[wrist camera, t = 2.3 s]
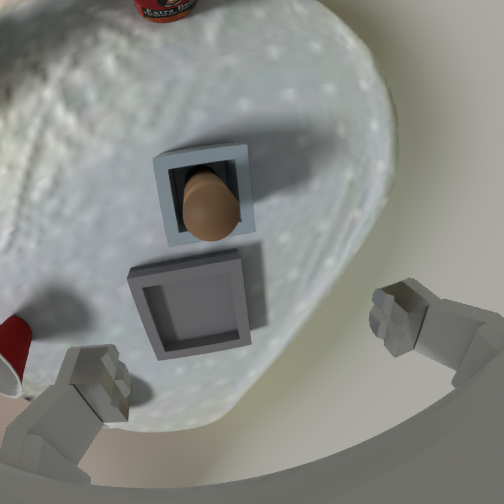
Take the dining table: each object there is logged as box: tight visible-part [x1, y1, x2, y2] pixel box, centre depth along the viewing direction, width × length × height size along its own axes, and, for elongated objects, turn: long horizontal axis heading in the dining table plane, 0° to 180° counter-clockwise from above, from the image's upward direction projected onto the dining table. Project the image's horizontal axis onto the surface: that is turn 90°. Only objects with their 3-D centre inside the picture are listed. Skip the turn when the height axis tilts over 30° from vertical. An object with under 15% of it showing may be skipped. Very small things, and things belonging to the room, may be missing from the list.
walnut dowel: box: [183, 165, 240, 241], centre depth 25 cm, size 4×4×14 cm
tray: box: [127, 249, 252, 361], centre depth 38 cm, size 15×15×3 cm
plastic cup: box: [0, 316, 32, 398], centre depth 28 cm, size 11×11×12 cm
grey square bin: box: [153, 142, 255, 247], centre depth 28 cm, size 8×8×9 cm
